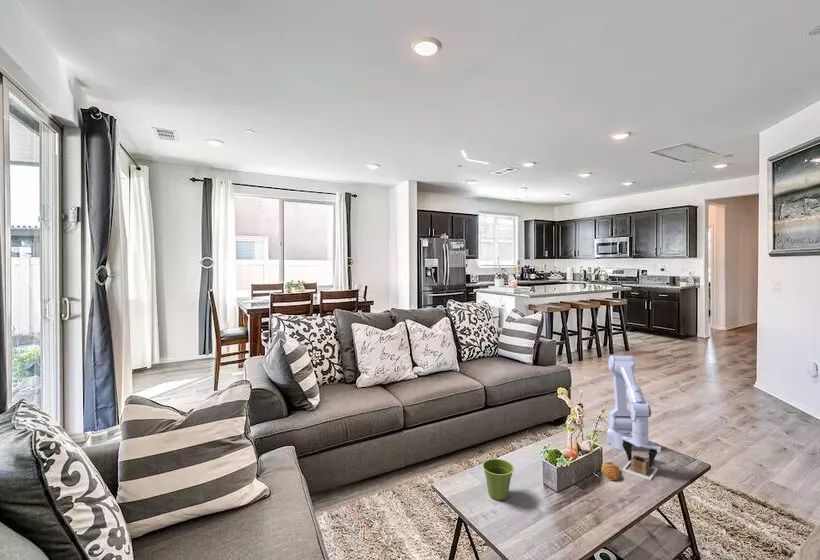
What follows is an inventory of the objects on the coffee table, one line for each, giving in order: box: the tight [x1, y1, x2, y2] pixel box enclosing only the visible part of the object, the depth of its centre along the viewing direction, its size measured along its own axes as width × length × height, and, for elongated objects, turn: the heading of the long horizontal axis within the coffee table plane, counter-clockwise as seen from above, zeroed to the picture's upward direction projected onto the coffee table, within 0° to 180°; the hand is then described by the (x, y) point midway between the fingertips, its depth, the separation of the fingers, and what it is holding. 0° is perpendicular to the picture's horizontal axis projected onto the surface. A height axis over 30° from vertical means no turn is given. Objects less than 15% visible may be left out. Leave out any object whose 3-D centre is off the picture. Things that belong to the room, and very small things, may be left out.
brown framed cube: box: [630, 454, 650, 476], centre depth 159 cm, size 5×5×5 cm
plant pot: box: [481, 458, 515, 501], centre depth 146 cm, size 12×12×11 cm
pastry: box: [600, 461, 621, 481], centre depth 157 cm, size 9×7×4 cm
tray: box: [622, 461, 658, 481], centre depth 159 cm, size 10×10×2 cm
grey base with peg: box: [645, 456, 663, 468], centre depth 164 cm, size 6×6×5 cm
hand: (640, 463), depth 159 cm, fingers open, 7 cm apart
